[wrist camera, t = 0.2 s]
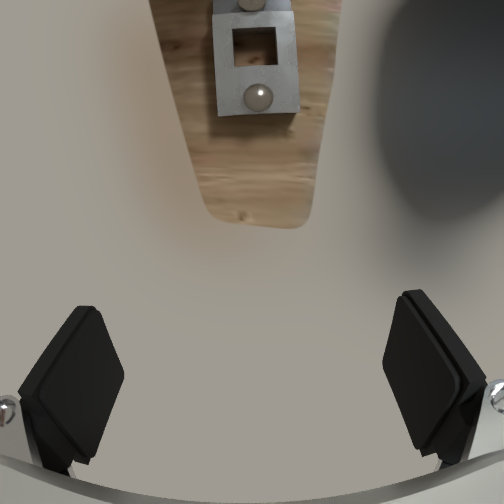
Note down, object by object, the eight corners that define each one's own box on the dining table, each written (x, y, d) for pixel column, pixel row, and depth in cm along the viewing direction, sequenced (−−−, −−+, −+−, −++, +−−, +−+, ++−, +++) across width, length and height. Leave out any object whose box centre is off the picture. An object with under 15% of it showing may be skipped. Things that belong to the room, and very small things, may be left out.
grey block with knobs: (213, -1, 28) (209, -12, 24) (288, -5, 27) (291, -16, 24) (220, 116, 34) (217, 116, 31) (296, 112, 34) (301, 112, 31)
